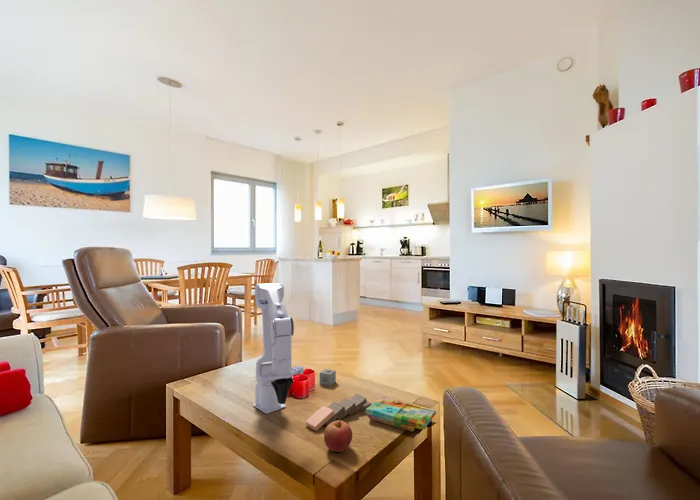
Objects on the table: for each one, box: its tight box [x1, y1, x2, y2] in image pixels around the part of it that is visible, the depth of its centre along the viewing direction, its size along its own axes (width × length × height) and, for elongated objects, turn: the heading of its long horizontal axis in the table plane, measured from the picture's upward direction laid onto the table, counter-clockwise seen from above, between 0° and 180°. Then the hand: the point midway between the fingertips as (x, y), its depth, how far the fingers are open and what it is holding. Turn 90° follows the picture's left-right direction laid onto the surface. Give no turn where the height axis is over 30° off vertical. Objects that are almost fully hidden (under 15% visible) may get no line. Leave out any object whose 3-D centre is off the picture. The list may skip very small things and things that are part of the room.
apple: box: [323, 419, 353, 453], centre depth 96 cm, size 8×8×8 cm
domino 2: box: [324, 401, 345, 427], centre depth 113 cm, size 2×5×8 cm
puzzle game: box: [365, 396, 437, 433], centre depth 112 cm, size 12×5×20 cm
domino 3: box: [335, 397, 356, 421], centre depth 116 cm, size 2×5×8 cm
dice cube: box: [319, 368, 337, 387], centre depth 145 cm, size 5×5×5 cm
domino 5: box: [353, 401, 372, 414], centre depth 122 cm, size 2×5×8 cm
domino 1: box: [305, 405, 335, 432], centre depth 110 cm, size 2×5×8 cm
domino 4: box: [347, 393, 368, 416], centre depth 120 cm, size 2×5×8 cm
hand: (281, 402), depth 103 cm, fingers closed
